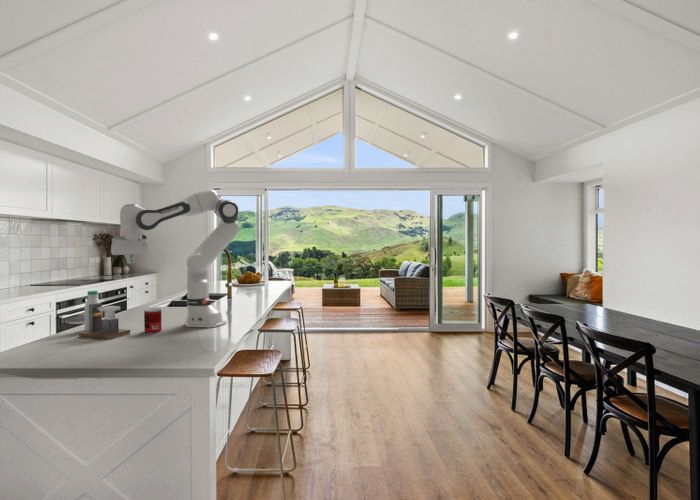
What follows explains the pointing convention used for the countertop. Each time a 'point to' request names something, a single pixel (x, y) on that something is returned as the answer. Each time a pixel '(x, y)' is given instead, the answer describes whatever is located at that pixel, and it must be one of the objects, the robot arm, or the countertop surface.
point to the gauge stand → (102, 326)
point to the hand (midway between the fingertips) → (130, 263)
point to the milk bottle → (91, 300)
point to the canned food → (152, 320)
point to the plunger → (109, 311)
